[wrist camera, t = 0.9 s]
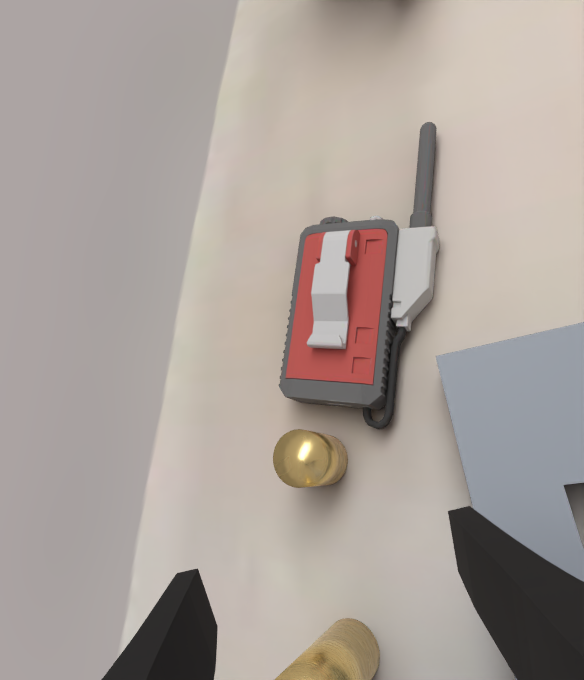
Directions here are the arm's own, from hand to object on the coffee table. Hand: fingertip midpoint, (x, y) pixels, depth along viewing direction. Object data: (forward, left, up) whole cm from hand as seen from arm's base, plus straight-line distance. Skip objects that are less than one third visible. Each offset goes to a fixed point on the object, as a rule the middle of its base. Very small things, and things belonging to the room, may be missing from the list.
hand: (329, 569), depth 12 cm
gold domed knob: (+4, +5, -14) cm, 15 cm away
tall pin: (-6, +5, -14) cm, 16 cm away
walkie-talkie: (+15, 0, -14) cm, 21 cm away
